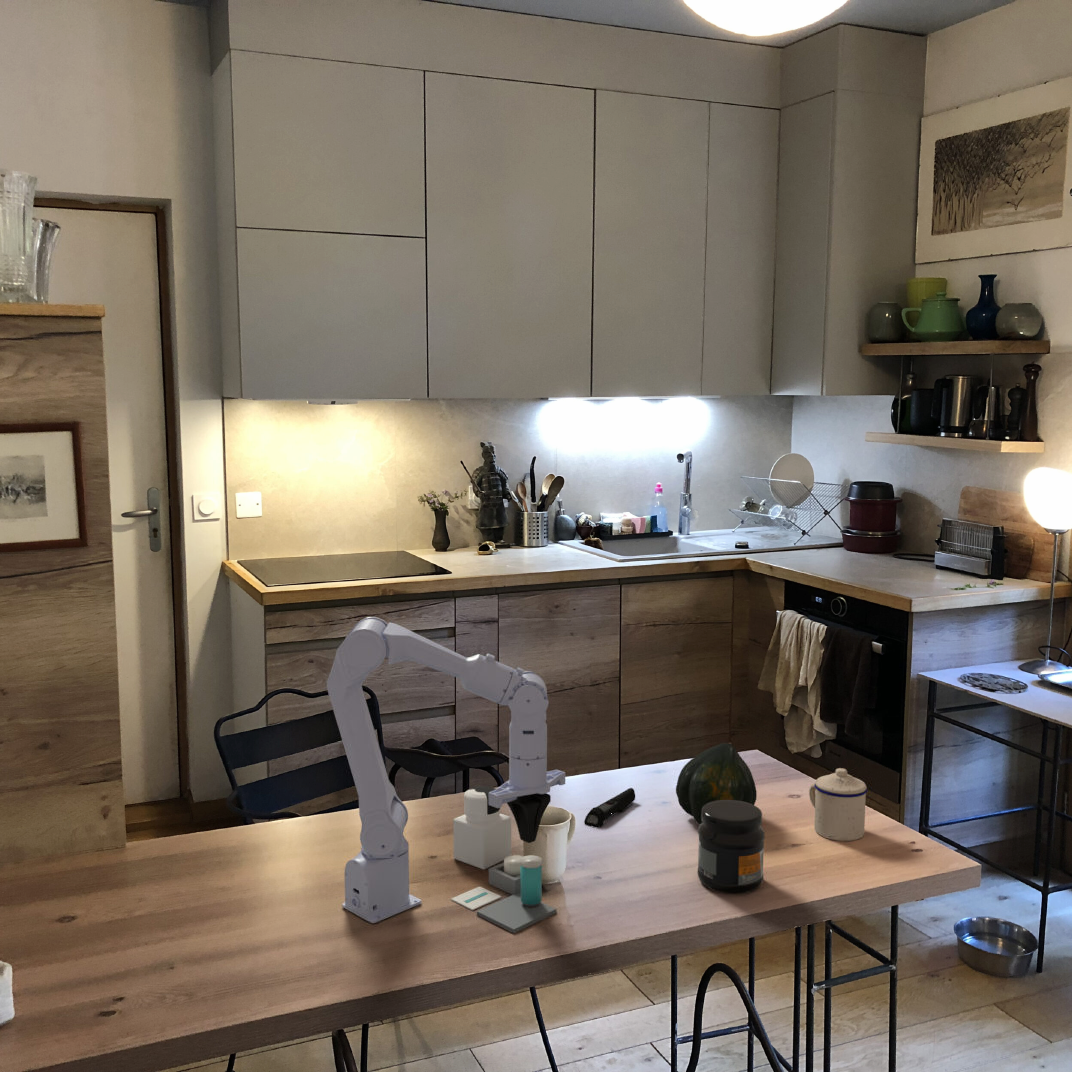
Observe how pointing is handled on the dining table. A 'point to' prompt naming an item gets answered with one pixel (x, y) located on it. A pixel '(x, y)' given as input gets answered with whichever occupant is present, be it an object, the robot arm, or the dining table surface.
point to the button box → (504, 880)
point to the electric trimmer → (610, 808)
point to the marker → (531, 880)
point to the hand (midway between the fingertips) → (527, 840)
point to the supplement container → (731, 846)
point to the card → (475, 898)
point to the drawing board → (515, 913)
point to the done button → (512, 865)
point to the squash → (714, 780)
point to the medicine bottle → (481, 831)
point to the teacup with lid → (839, 806)
